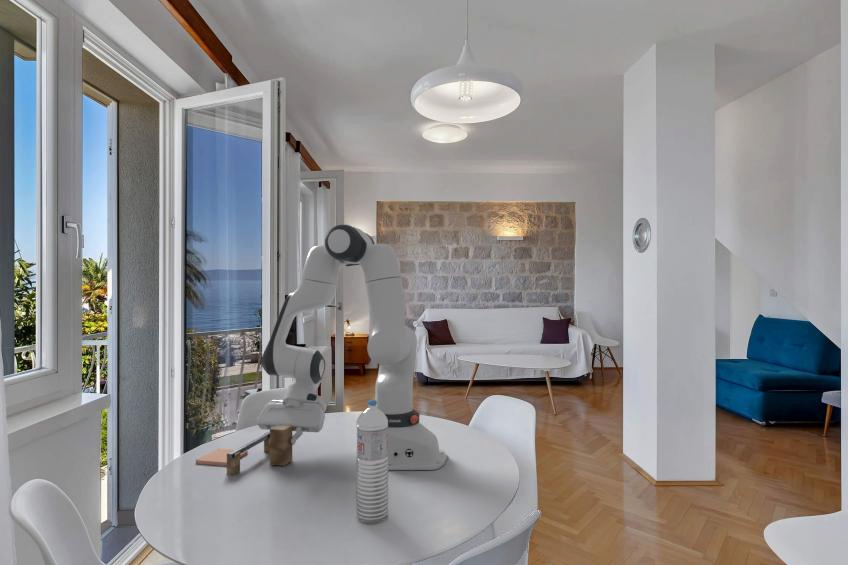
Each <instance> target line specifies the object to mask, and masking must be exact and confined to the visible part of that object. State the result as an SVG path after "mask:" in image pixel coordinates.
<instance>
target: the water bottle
mask: <svg viewBox="0 0 848 565" xmlns="http://www.w3.org/2000/svg"><path fill="white" fill-rule="evenodd" d="M376 403H377V401H376V400H375V399H369V400H368V401H367V406H368V407H367V408H365V409H364V410H363V411H362V412H361V413H360V415H359V416H358V417H357V420H356V518H357V520H358V521H359V522H360V523H362V524H364V525H365V524H366V525H376V524H380V523H382V522H384V521H385V520H386V519H387V518H388V515H389V470H388V433H387V427H388V419H387V417H386V416H385V414H384V413H383V412H382V411H381V410H380V409H378V408H377V407H376V405H377V404H376Z"/></svg>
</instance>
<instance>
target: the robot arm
mask: <svg viewBox="0 0 848 565" xmlns="http://www.w3.org/2000/svg"><path fill="white" fill-rule="evenodd" d="M399 263H400V262H399V260H398V258H397V254H396V251H395V250H394V248H393V247H392V246H391V245H389V244H385V243H375V241H374V240H373V238H372V237H371V235H369V234H368V233H366V232H364V231H363V230H362V229H361V228H358V227H355V226H352V225H349V224H337V225H334V226H333V227H331V228H330V229H329V230H328V232H326V235H325V238H324V244H323V245H321V244H320V245H316V246H313V247H312V248H311V249H309V252H308V254H307V257H306V260H305V263H304V266H303V269H302V273H301V279H300V282H299V285H298V286H297V288H296V289H295V291H294V292H291V293H289V294H288V295H287V296H286V298H285V299H284V302H283V303H282V305H281V309H280V310H279V314H278V317H277V319H276V322H275V324H274V328H273V329H272V330H273V331H272V333H271V335H270V338H269V341H268V343H267V345H266V347H265V350H264V351H263V353H262V357H261V359H260V360H261V362H260V365H261V367H262V369H263V370H264V372H265V373H266V374H267V375H268V376H274V377H275V376H277V377H278V376H279V377H286V378H292V379H291V384H289V385H288V387H287V389H286V392H285V394H284V397H283V399H278V400H276V399H272V400H270V401H268V402H266V403H265V405H264V406H263V408H262V410H261V411H260V413H259V415H258V417H257V419H256V424H257V427H259V429H261V430H268V431H270V429H271V428H273V427H275V426H277V425H292V432H295V433H294V434H292V436H290V437H289V440H288V443H289V444H290V445H292V446H294V445H296V442H297V440H298V439H299V438H301V436H302V435H303V433H305V432H306V433H320V432H321V430H322V429H323V427H324V424H325V419H326V413H325V412H326V410H327V405H326V404H325V402H324V400H323V398H322V397H321V396H320V395H318V394H316V391H317V389H318V388H319V386H320V383H321V380H322V378H323V376H324V373H325V369H326V360H325V358H324V357H323V354H322V353H321V351H320V350H319V349H318V350H317V349H314V348H309V347H303V346H296V345H291V344H287V342H286V340H287V338H288V335H289V332H290V329H291V327H292V324H293V321H294V319H295V317H296V316H297V315H300V314H301V313H307V312H311V311H317V310H320V309H323V308H326V307H328V306H329V305H331V303H332V302H333V301H334V298H335V296H336V292H337V288H338V285H339V284H338V282H339V276H340V273H341V270H342V269H343V268H344V267H352V266H353V267H354V266H360V268H361V270H362V271H363V276H364V277H363V278H364V282H365V289H366V295H367V296H366V297H367V303H368V304H367V305H368V312H369V321H368V322H369V323H368V342H367V347H366V350H367V354H368V356H369V359H371V361H373V362H374V363H375V364H377V365H379V367H378V372H377V373H378V374H377V377H376V380H375V394H374V395H375V396H374V398H375V399H374V400H376V401H377V403H376V404H377V405H376V407H377V408H378V409H380V410H381V411H382V412H383V413H384V414H385V416H386V417H387V419H388V427H387V433H388V471H435V470H438V469H440V468H441V467H443V466H444V465H445V464H446V462H447V460H448V458H447V452H446V451H445V450H442V449H440V448H439V447H440V446H439V441H438V438H437V436H436V434H435V433H433V432H432V431H431V430H429V429H428V428H427V427H426V426H424V424H422V423H421V422H420V415H421V414H420V411H419V410H418V411H417V410H416V409H414V408H413V407H414V406H413V403H414V402H413V401H414V400H413V397H414V396H413V395H414V394H413V392H414V391H413V385H414V383H413V382H414V375H415V374H414V373H415V365H416V354H417V352H416V351H417V345H418V338H417V335H416V333H415V332H414V330H413V329H411V327H409V326H407V325H406V305H407V303H406V296H405V290H404V284H403V278H402V273H401V268H400V264H399ZM269 442H270V440H269Z"/></svg>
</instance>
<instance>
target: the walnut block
mask: <svg viewBox="0 0 848 565" xmlns="http://www.w3.org/2000/svg"><path fill="white" fill-rule="evenodd" d="M269 431H270V452H269V465H270V466H280V467H282V466H284V467H285V466H286V465H287V464H289V463H290V462H292V461H293V445H290V444H289V443H288V440H289V437H290V436H293V431H292V425H277V426H275V427H273V428H271V429H270V430H269Z"/></svg>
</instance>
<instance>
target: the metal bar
mask: <svg viewBox="0 0 848 565" xmlns="http://www.w3.org/2000/svg"><path fill="white" fill-rule="evenodd" d="M267 432H268V433H266V432H265V433H266V434H264V433H263V434H262V435H260V436H259V437H257V438H254V439H253V440H251V441H250V442H247V443H246V444H243V445H242V446H240V447H238V448H236V449H233V450H234V451H232V452H231V453H229V454H228V458H230V459H232V458H234V454H236V453H238V452H240V454H241V453H243V452H245V451H248V450H250V449H252V448H253V447H255V446H257V445H259V444H261V443H262V442H264V440H266V439H268V438H269V437H270V430H268V431H267Z"/></svg>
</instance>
